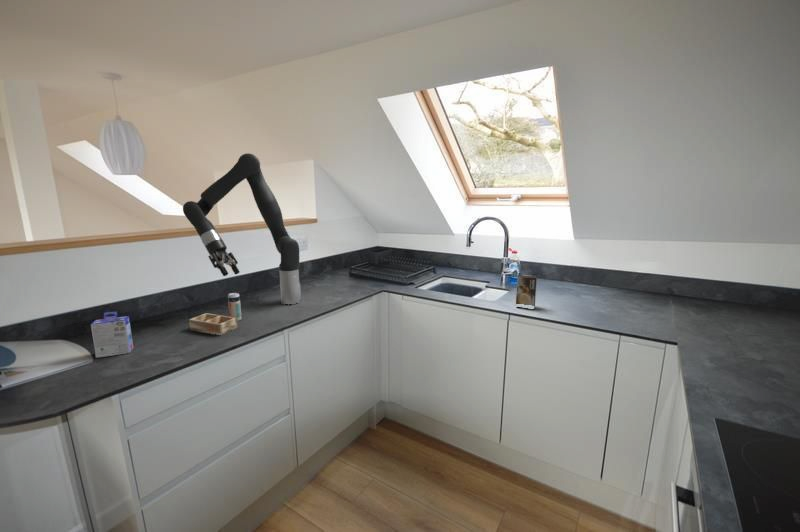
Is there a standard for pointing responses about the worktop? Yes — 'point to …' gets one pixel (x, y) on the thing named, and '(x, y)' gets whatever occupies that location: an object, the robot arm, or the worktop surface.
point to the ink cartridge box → (112, 335)
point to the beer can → (234, 305)
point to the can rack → (213, 324)
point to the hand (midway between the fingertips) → (232, 274)
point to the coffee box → (526, 289)
